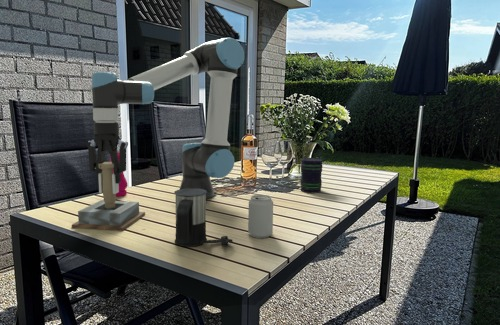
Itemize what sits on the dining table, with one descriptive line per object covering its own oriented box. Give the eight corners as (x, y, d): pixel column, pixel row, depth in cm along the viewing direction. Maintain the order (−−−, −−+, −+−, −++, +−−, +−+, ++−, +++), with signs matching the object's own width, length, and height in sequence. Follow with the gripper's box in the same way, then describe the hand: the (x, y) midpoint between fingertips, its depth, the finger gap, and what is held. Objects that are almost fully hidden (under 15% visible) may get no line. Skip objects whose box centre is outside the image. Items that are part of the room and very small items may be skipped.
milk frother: (174, 236, 108) (173, 188, 106) (226, 233, 111) (227, 186, 109) (175, 255, 94) (174, 200, 92) (234, 251, 98) (235, 198, 95)
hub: (145, 214, 129) (144, 201, 128) (122, 230, 112) (122, 215, 111) (100, 212, 131) (99, 198, 130) (71, 227, 114) (70, 212, 113)
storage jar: (320, 188, 175) (321, 158, 173) (322, 193, 165) (323, 161, 163) (299, 188, 176) (300, 157, 174) (300, 192, 166) (301, 160, 164)
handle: (109, 210, 117) (106, 164, 115) (98, 207, 121) (94, 163, 119) (122, 207, 121) (119, 162, 119) (111, 204, 125) (107, 161, 122)
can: (247, 230, 114) (247, 193, 112) (270, 230, 115) (271, 193, 113) (249, 239, 107) (249, 199, 105) (274, 238, 107) (275, 199, 106)
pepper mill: (122, 197, 152) (120, 150, 149) (106, 196, 154) (104, 149, 151) (131, 193, 159) (129, 148, 156) (116, 192, 161) (114, 147, 158)
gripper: (136, 121, 119) (138, 191, 123) (87, 120, 121) (91, 189, 125) (126, 122, 112) (128, 196, 115) (74, 121, 114) (78, 194, 117)
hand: (109, 192), depth 120 cm, fingers closed on handle, 4 cm apart
